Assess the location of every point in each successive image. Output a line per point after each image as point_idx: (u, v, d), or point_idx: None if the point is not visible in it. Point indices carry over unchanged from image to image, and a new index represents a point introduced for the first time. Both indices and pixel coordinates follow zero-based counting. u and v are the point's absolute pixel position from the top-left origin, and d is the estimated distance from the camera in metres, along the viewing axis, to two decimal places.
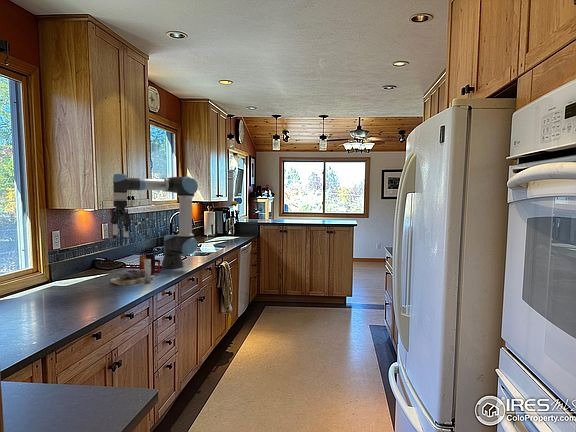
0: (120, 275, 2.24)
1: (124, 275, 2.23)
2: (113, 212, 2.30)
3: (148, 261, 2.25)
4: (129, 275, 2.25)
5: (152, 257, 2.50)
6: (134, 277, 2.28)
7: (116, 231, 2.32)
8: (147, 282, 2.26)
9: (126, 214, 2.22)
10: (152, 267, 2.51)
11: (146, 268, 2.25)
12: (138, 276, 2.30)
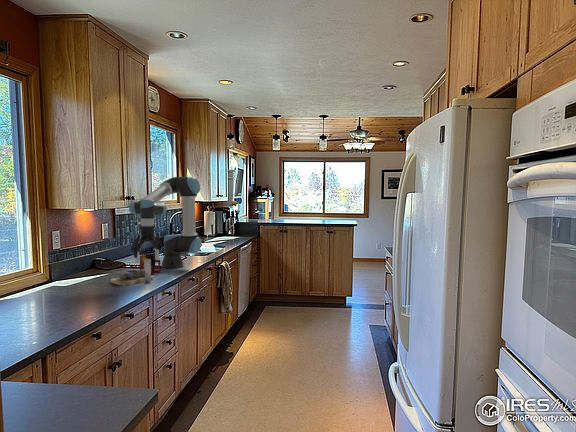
0: (120, 275, 2.24)
1: (124, 275, 2.23)
2: (155, 237, 2.32)
3: (148, 261, 2.25)
4: (129, 275, 2.25)
5: (152, 257, 2.50)
6: (134, 277, 2.28)
7: (157, 256, 2.31)
8: (147, 282, 2.26)
9: (135, 240, 2.20)
10: (152, 267, 2.50)
11: (146, 268, 2.25)
12: (138, 276, 2.30)
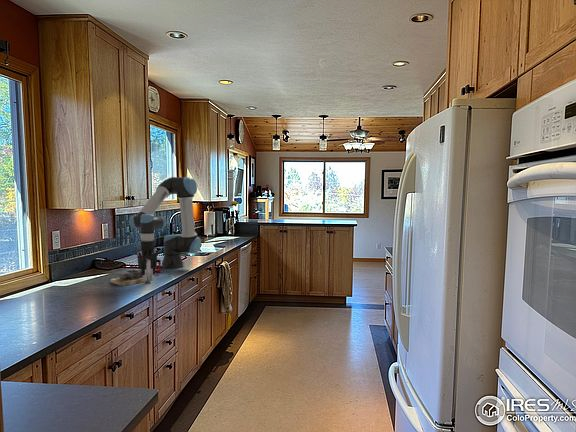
0: (120, 275, 2.24)
1: (124, 275, 2.23)
2: None
3: (148, 261, 2.25)
4: (129, 275, 2.25)
5: None
6: (134, 277, 2.28)
7: None
8: (147, 282, 2.26)
9: (138, 258, 2.22)
10: None
11: (146, 268, 2.25)
12: (138, 276, 2.30)
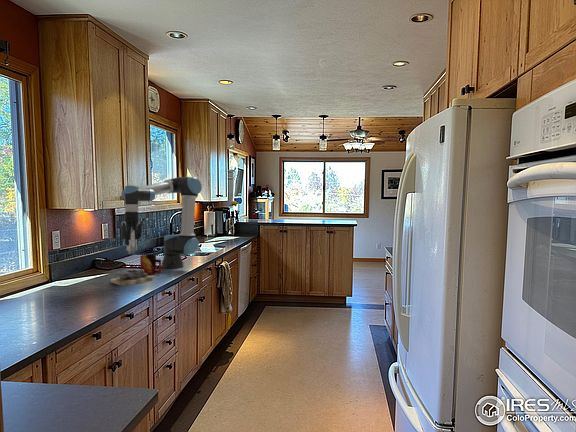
0: (120, 275, 2.24)
1: (124, 275, 2.23)
2: None
3: (132, 232, 2.28)
4: (129, 275, 2.25)
5: (153, 257, 2.50)
6: (134, 277, 2.28)
7: (135, 246, 2.31)
8: (131, 252, 2.28)
9: (122, 229, 2.25)
10: (153, 267, 2.50)
11: (130, 238, 2.28)
12: (138, 276, 2.30)
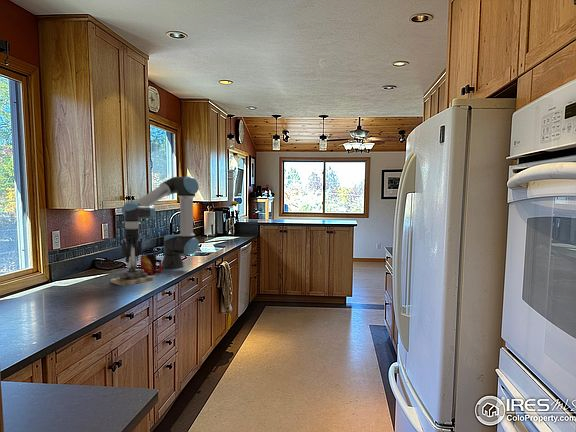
0: (120, 275, 2.24)
1: (124, 275, 2.23)
2: (138, 242, 2.35)
3: (132, 249, 2.29)
4: (129, 275, 2.25)
5: (153, 257, 2.50)
6: (134, 277, 2.28)
7: (135, 263, 2.32)
8: (131, 269, 2.29)
9: (122, 246, 2.25)
10: (153, 267, 2.50)
11: (130, 255, 2.28)
12: (138, 276, 2.30)
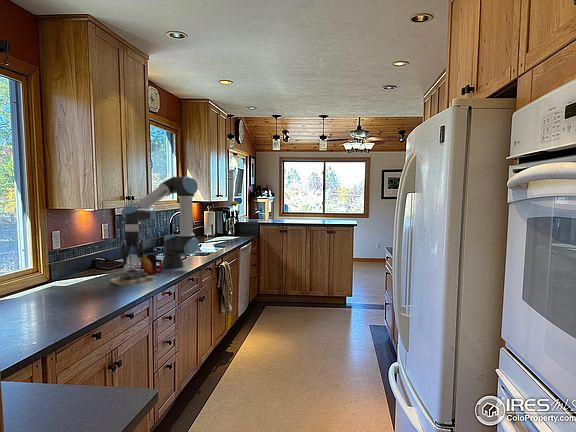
0: (120, 275, 2.24)
1: (124, 275, 2.23)
2: None
3: (132, 256, 2.29)
4: (129, 275, 2.25)
5: (153, 257, 2.50)
6: (134, 277, 2.28)
7: (137, 264, 2.33)
8: None
9: (121, 248, 2.25)
10: (153, 267, 2.50)
11: (130, 263, 2.29)
12: (138, 276, 2.30)
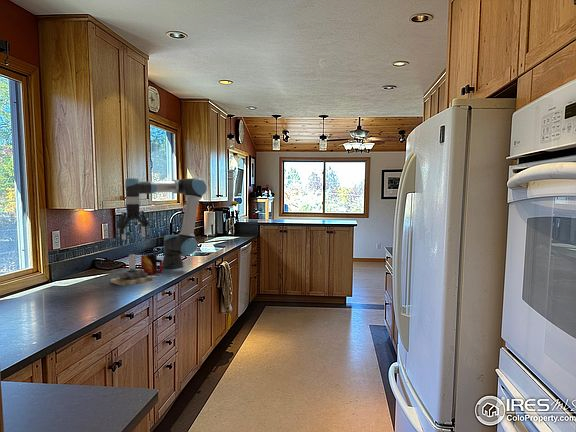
0: (120, 275, 2.24)
1: (124, 275, 2.23)
2: None
3: (133, 256, 2.29)
4: (129, 275, 2.25)
5: (154, 257, 2.50)
6: (134, 277, 2.28)
7: (143, 233, 2.41)
8: None
9: (121, 218, 2.29)
10: (154, 267, 2.50)
11: (131, 263, 2.29)
12: (138, 276, 2.30)
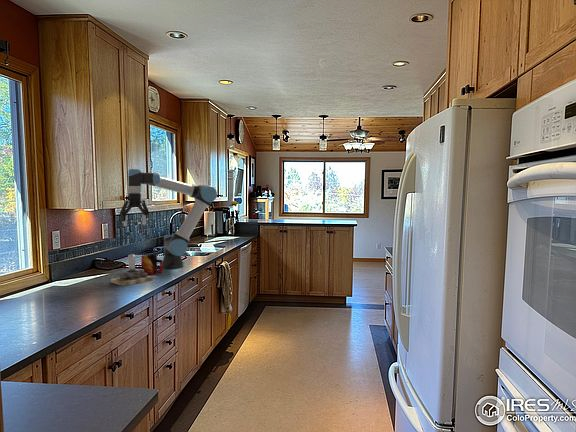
0: (120, 275, 2.24)
1: (124, 275, 2.23)
2: (142, 204, 2.56)
3: (132, 256, 2.29)
4: (129, 275, 2.25)
5: (154, 257, 2.50)
6: (134, 277, 2.28)
7: (144, 221, 2.56)
8: None
9: (123, 205, 2.44)
10: (154, 267, 2.50)
11: (130, 263, 2.29)
12: (138, 276, 2.30)
